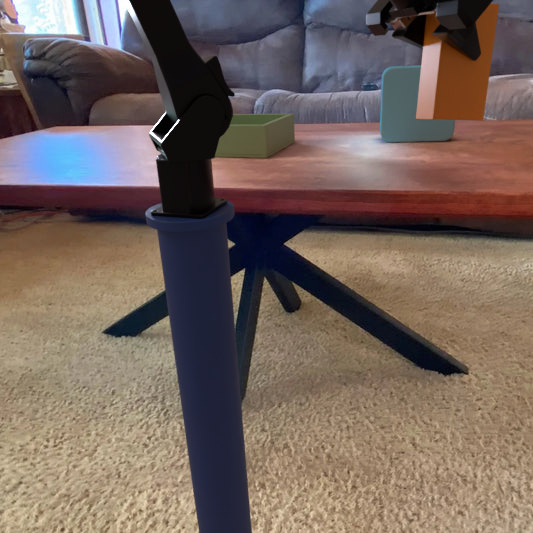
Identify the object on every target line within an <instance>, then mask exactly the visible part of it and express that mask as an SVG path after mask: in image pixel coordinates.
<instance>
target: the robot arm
mask: <svg viewBox="0 0 533 533" xmlns="http://www.w3.org/2000/svg"><path fill="white" fill-rule="evenodd" d="M122 1H123V3H124V5H125V8H126V9H127V11H128V13H129V15H130V17H131V19H132V21H133V23H134V25H135V27H136V29H137V32H138V33H139V35H140V38H141V40H142V42H143V43H144V46H145V48H146V50H147V52H148V54H149V56H150V58H151V62H152V65H153V70H154V73H155V74H154V75H155V79H156V83H157V86H158V91H159V94H160V97H161V98H160V99H161V102H162V103H163V107H164V110H165V113H163V115H162V116H161V117H160V118H159V119H158V121H157V123H155V125H154V126H153V128H152V129H151V130H150V132H149V133H148V137H149V138H150V140H151V142H152V144H153V146H154V148H155V150H156V151H157V152H159V153H160V154H158V155H156V159H155V162H156V171H157V179H158V186H159V194H160V203H162V205H161V206H159V207H157V208H155V209H154V210H152V211H151V216H162V217H176V218H190V219H204V218H206V217H207V216H209V215H210V214H212V213H213V212H215V211H216V210H218V209H219V208H221V207H222V206H224V205H225V204H227V201H228V199H227V198H220V199H219V197H215V185H214V172H213V163H212V159H215V158H216V157H215V154H216V150H217V146H218V142H219V138H220V137H221V136H222V135H224V134H225V132H226V131H227V129H228V128H229V126H230V123H231V120H232V118H233V114H234V108H233V105H232V101H231V99H230V97H231V98H233V97H235V96H236V93H235V92H234V91H233V90H232V89H231V88H230V87H229V85H228V84H227V82H226V80H225V77H224V74H223V69H222V65H221V63H220V62H221V61H220V60H219V57H218V56H217V55H202V56H200V54H199V53H198V52H197V51H196V50H195V48H194V47H193V45H192V44H191V43H190V41H189V39H188V36H187V34H186V32H185V30H184V28H183V25H182V23H181V21H180V18H179V16H178V14H177V12H176V10H175V8H174V6H173V3H172V1H171V0H122ZM493 1H494V0H376V2H375V3H374V4H373V5H372V6H371V8H370V9H369V11H368V12H367V13H366V16H365V25H366V27H367V29H368V30H369V31H370V32H371V34H372V35H373V36H374V37H380V36H386V35H387V33H388V32H389V26H388V24H390V25H391V27H392V28H393V29H394V30H393V32H392V34H391V37H392V38H393V39H395V40H400V41H402V42H404V43H407V44H409V45H411V46H414V47H417V48H419V49H421V50H423V44H424V34H425V24H426V14H433V13H435V12H436V18H437V19H438V20H439V22H440V24H439V26H438V27H437V28H436V29H435V31H434V32H433V33H432V34H433V35H434V36H436V37H437V38H439V39H440V40H442V41H443V42H445V43H447V44H448V45H450V46H451V47H452V48H454V49H455V50H457V51H458V52H460V53H461V54H463V55H464V56H466V57H468V58H469V59H471V60H473V61H476V60H477V59H478V58H479V56H480V55H481V49H480V44H479V38H478V33H477V27H476V21H477V19H478V18H479V17H480V16H481V15H482V13H483V12H484V11H485V10H486V8H487V7H488V6H489V5H490V4H491V3H493Z"/></svg>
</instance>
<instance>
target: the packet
mask: <svg viewBox="0 0 533 533" xmlns="http://www.w3.org/2000/svg"><path fill="white" fill-rule="evenodd" d="M499 8H500V4H499V3H493V2H491V4H490V5H489V6H488V7H487V8H486V10H485V11H484V12H483V13H482V15H481V16H480V17H479V18H478V19H477V21H476V27H477V33H478V38H479V44H480V49H481V55H480V56H479V58H478V59H477V60H476V61H473V60H471V59H469V58H468V57H466V56H464V55H463V54H461V53H460V52H458V51H457V50H455V49H454V48H452V47H451V46H450V45H448V44H447V43H445V42H443V41H442V40H440V39H439V38H437V37H436V36H434V35H433V34H432V33H433V32H434V31H435V29H436V28H437V27H438V26H439V24H440V22H439V20H438V19H437V18H436V12H435V13H433V14H426V24H425V34H424V44H423V49H422V56H421V63H420V65H421V73H420V83H419V93H418V103H417V113H416V119H431V120H455V121H477V122H478V121H479V122H480V121H481V122H483V121H484V118H485V110H486V105H487V104H486V103H487V96H488V90H489V81H490V75H491V74H490V73H491V66H492V60H493V52H494V47H495V46H494V45H495V37H496V31H497V30H496V29H497V24H498V17H499Z"/></svg>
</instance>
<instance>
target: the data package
mask: <svg viewBox="0 0 533 533" xmlns="http://www.w3.org/2000/svg"><path fill="white" fill-rule="evenodd" d="M420 73H421V64H418V65H396V66H395V65H394V66H388V67H387V68H385V69H384V70H383V72H382V74H381V82H380V106H379V107H380V109H379V110H380V111H379V133H380V136H381V139H382V140H383V141H384V142H386V143H419V142H420V143H421V142H422V143H423V142H424V143H425V142H426V143H427V142H446V141H449V140H450V139H451V138H452V137H453V135H454V134H455V128H456V127H455V126H456V120H431V119H416V113H417V103H418V93H419V83H420Z"/></svg>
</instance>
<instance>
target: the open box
mask: <svg viewBox="0 0 533 533" xmlns="http://www.w3.org/2000/svg"><path fill="white" fill-rule="evenodd" d="M295 135H296V134H295V113H233V118H232V120H231V123H230V126H229V128H228V129H227V131H226V132H225V134H224V135H222V136H221V137H220V138H219V142H218V146H217V150H216V154H215V157H214V158H247V159H248V158H249V159H250V158H251V159H255V158H256V159H267V158H269V157H272V156H273V155H275V154H277V153H279V152H280V151H282V150H283V149H285V148H287V147H289V146H290V145H292V144H295V142H296V140H295V139H296V136H295Z"/></svg>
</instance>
